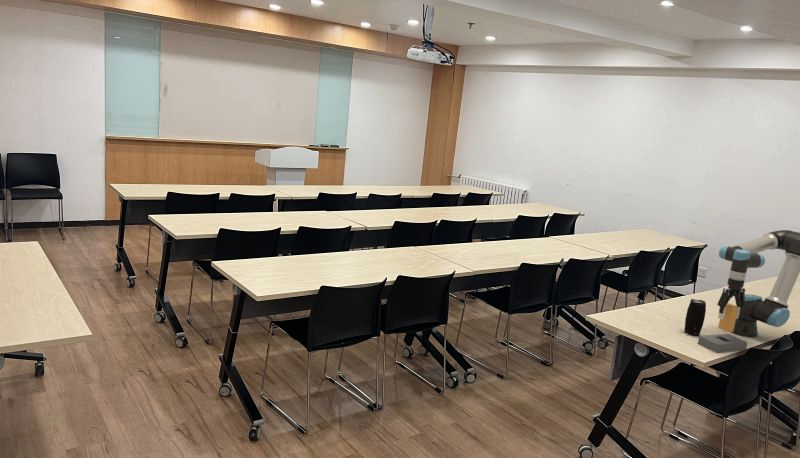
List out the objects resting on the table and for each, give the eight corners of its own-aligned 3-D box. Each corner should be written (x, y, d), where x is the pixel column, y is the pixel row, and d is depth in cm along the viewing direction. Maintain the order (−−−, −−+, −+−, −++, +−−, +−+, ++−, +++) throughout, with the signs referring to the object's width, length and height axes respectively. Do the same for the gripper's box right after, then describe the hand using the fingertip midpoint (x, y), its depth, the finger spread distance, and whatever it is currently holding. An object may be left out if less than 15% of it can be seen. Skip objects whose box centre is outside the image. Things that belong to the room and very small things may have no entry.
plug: (717, 328, 320) (723, 303, 317) (723, 327, 321) (728, 303, 319) (727, 332, 314) (733, 307, 312) (732, 331, 316) (738, 307, 313)
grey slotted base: (697, 343, 321) (699, 335, 320) (726, 341, 329) (728, 333, 329) (716, 352, 310) (718, 344, 309) (745, 350, 319) (747, 342, 318)
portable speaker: (699, 337, 331) (705, 304, 327) (681, 332, 336) (687, 300, 332) (702, 334, 337) (709, 301, 333) (684, 329, 343) (691, 297, 339)
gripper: (727, 281, 304) (718, 322, 309) (758, 280, 313) (749, 319, 318) (715, 277, 311) (706, 316, 316) (745, 276, 320) (736, 315, 324)
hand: (727, 318), depth 317 cm, fingers open, 10 cm apart
